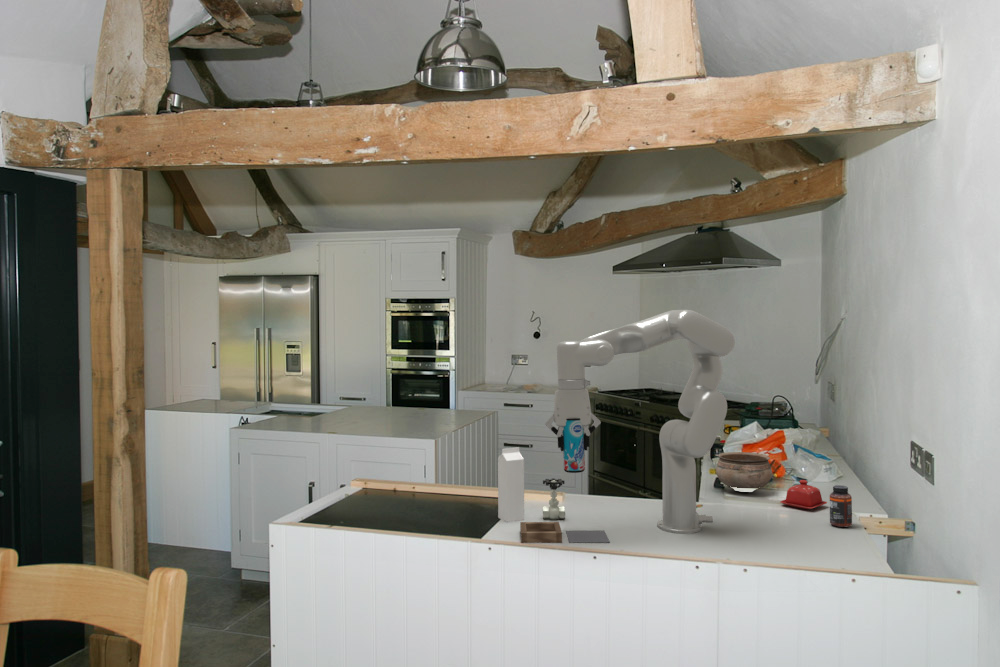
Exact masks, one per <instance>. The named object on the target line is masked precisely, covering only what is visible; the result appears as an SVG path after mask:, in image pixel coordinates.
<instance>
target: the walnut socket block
mask: <svg viewBox="0 0 1000 667" xmlns="http://www.w3.org/2000/svg"><path fill="white" fill-rule="evenodd" d="M520 541H521V544H531V543H532V544H563V532H562V528H561V525H560V522H559V521H521V522H520Z"/></svg>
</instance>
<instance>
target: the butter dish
mask: <svg viewBox="0 0 1000 667" xmlns="http://www.w3.org/2000/svg"><path fill="white" fill-rule="evenodd" d="M798 482H799V484H795V485H793V486H790V487H789V488H788V489H787V492H786V497H785V499H782V500H781V501H780V502H779V504H783V505H787V506H789V507H792V508H797V509H804V510H812V509H814V508H818V507H821V506H824V505H826V504H827V503H828V501H826V500H825V501H824V500H823V499H822V493H821V490H820V489H819V488H818V487H816V486H813V485H809V483H808V480H805V479H800V480H798Z"/></svg>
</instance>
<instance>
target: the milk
mask: <svg viewBox="0 0 1000 667" xmlns="http://www.w3.org/2000/svg"><path fill="white" fill-rule="evenodd" d="M497 476H498V477H497V496H498V497H497V499H498V500H497V501H498V502H497V504H498V505H497V506H498V508H497V512H498V514H497V517H498V519H499V520H502V521H503V520H504V521H503V522H505V523H512V522H519V521H521V522H522V521H525V458H524V457H523V456H522V453H521V452H520V446H518V447H517V446H515V447H505V448H502V449H501V454H500V455H498V457H497Z"/></svg>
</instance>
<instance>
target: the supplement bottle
mask: <svg viewBox="0 0 1000 667" xmlns="http://www.w3.org/2000/svg"><path fill="white" fill-rule="evenodd" d="M852 498H853V497H852V495H851V494H850V493H849V487H848V486H847V485H840V484H839V485H838V484H837V485H835V484H834V485H833V486H832V492H831V493H830V494H829V523H830V524H831V526H834V527H839V528H847V527H851V526H852V524H853V513H852V512H853V509H852V508H853V507H852V506H853V502H852V501H853V499H852Z"/></svg>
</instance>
